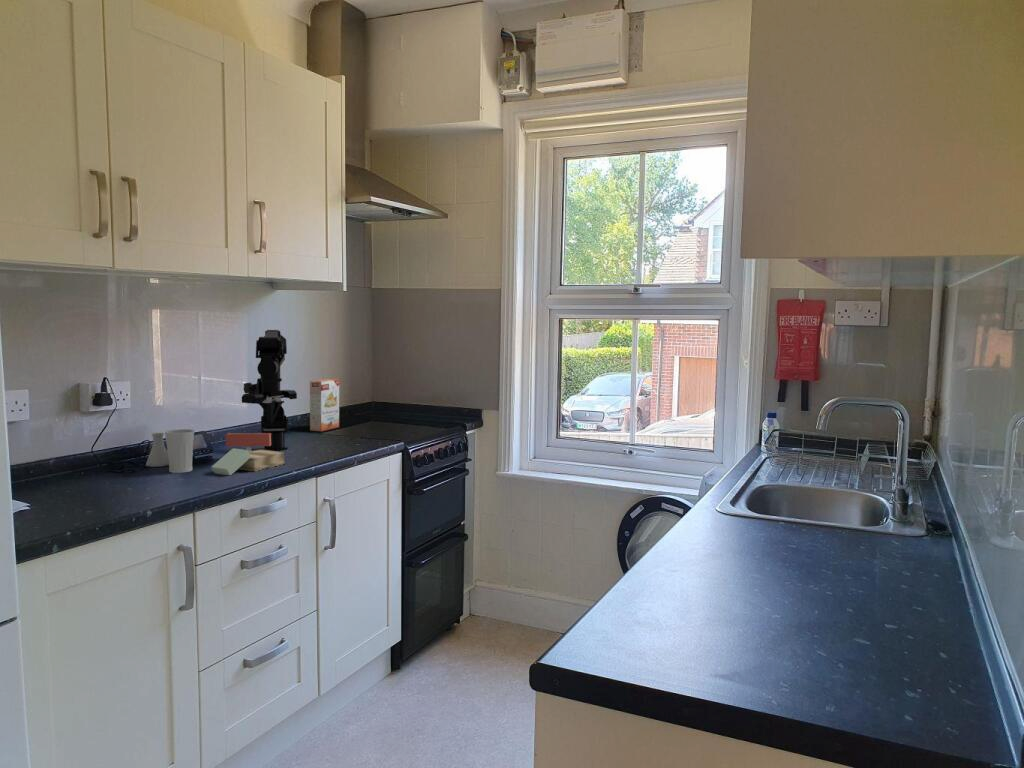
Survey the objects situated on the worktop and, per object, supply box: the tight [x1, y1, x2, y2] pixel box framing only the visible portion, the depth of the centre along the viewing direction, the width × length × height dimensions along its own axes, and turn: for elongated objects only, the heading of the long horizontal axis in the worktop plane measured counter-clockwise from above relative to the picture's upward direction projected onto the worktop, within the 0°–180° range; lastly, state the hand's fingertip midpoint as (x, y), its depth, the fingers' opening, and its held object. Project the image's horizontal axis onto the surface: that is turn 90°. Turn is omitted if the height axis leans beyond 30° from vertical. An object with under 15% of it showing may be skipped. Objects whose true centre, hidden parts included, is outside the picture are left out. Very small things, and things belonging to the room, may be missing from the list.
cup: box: [164, 428, 195, 474], centre depth 212 cm, size 8×8×12 cm
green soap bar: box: [211, 447, 251, 476], centre depth 211 cm, size 9×6×2 cm
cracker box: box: [309, 378, 340, 433], centre depth 296 cm, size 14×6×21 cm, turn 162°
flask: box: [145, 432, 169, 468], centre depth 220 cm, size 7×7×10 cm
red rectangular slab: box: [225, 432, 271, 452], centre depth 232 cm, size 14×2×7 cm, turn 94°
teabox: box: [237, 448, 285, 472], centre depth 220 cm, size 12×10×4 cm
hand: (270, 422), depth 231 cm, fingers closed
